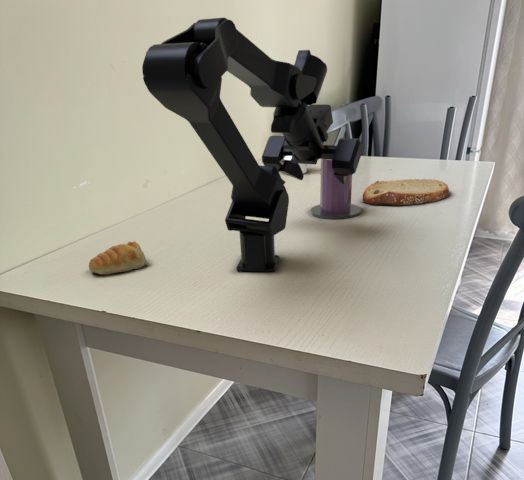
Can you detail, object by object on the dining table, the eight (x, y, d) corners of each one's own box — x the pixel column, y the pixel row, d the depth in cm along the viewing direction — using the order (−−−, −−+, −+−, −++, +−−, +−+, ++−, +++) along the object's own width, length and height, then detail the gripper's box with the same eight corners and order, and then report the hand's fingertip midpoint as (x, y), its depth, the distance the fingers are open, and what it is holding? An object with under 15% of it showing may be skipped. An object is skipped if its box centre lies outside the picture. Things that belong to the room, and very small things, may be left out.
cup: (325, 215, 109) (326, 161, 103) (316, 207, 114) (317, 155, 109) (355, 212, 110) (357, 158, 104) (344, 204, 115) (346, 152, 110)
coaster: (361, 219, 107) (361, 216, 106) (308, 219, 108) (308, 216, 108) (360, 204, 116) (360, 202, 116) (312, 205, 118) (312, 202, 117)
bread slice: (451, 190, 123) (454, 174, 121) (438, 210, 109) (440, 192, 107) (378, 185, 130) (379, 170, 128) (357, 204, 117) (358, 187, 115)
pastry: (99, 280, 84) (94, 258, 82) (83, 270, 89) (78, 249, 87) (150, 265, 89) (146, 244, 87) (133, 256, 94) (129, 236, 92)
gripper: (363, 88, 86) (379, 147, 100) (266, 89, 94) (293, 143, 108) (343, 145, 84) (362, 197, 98) (246, 141, 92) (277, 189, 106)
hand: (322, 179), depth 102 cm, fingers open, 9 cm apart
